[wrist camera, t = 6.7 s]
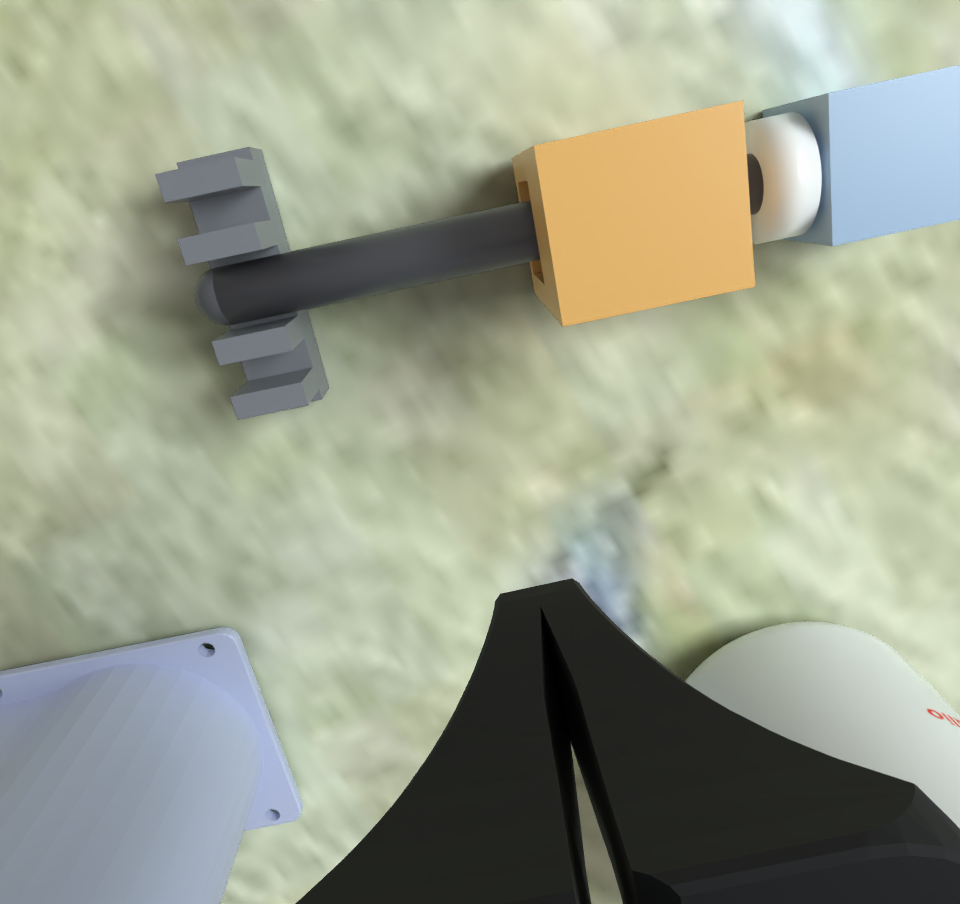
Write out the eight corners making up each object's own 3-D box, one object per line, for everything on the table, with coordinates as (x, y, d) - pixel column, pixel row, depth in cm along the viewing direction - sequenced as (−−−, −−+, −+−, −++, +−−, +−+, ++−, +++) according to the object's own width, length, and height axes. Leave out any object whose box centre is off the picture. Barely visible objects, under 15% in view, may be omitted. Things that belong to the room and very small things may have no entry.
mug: (599, 731, 25) (707, 1116, 15) (784, 554, 23) (1066, 856, 12) (822, 879, 28) (1045, 1289, 18) (1005, 735, 26) (1382, 1102, 15)
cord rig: (257, 402, 20) (222, 441, 17) (181, 166, 18) (125, 162, 15) (879, 273, 20) (961, 288, 17) (878, 14, 18) (972, -25, 15)
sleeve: (535, 294, 19) (563, 326, 15) (511, 157, 18) (533, 145, 13) (680, 263, 19) (755, 286, 15) (666, 124, 18) (742, 100, 13)
